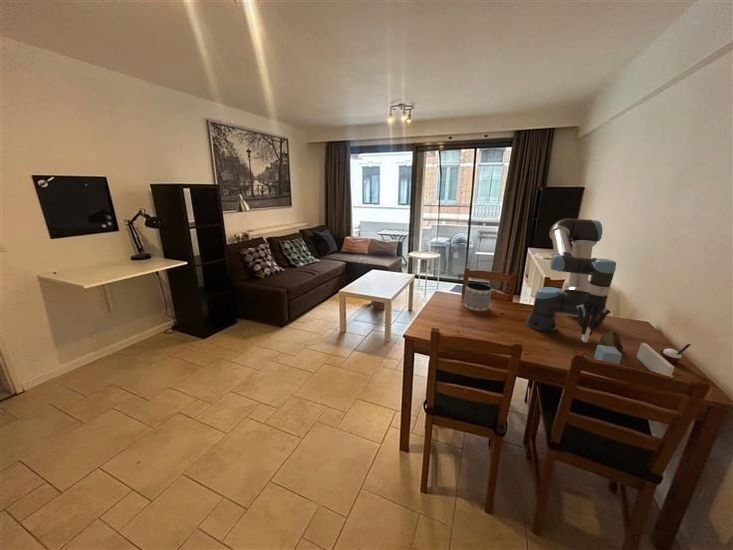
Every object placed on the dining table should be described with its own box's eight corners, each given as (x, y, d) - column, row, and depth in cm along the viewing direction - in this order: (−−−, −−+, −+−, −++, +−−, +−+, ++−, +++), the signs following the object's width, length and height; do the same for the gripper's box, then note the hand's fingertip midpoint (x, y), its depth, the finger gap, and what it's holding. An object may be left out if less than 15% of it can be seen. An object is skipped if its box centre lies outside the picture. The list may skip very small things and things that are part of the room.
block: (600, 365, 140) (604, 352, 137) (593, 357, 146) (597, 344, 144) (617, 368, 138) (622, 354, 136) (610, 359, 144) (614, 347, 142)
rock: (594, 334, 163) (599, 340, 154) (608, 324, 160) (615, 330, 151) (610, 349, 161) (617, 356, 152) (626, 340, 158) (633, 346, 149)
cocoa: (656, 356, 149) (662, 334, 146) (671, 358, 148) (678, 335, 145) (669, 366, 140) (676, 342, 137) (685, 368, 139) (693, 344, 136)
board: (662, 382, 128) (668, 366, 126) (636, 357, 147) (641, 342, 144) (679, 385, 127) (686, 369, 124) (651, 359, 145) (656, 345, 143)
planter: (461, 301, 210) (464, 281, 206) (485, 303, 208) (488, 283, 204) (465, 310, 195) (468, 289, 191) (491, 312, 193) (494, 291, 189)
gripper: (583, 294, 133) (571, 342, 139) (618, 298, 129) (604, 346, 136) (577, 289, 139) (565, 334, 146) (610, 292, 136) (596, 339, 143)
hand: (584, 340), depth 141 cm, fingers closed
